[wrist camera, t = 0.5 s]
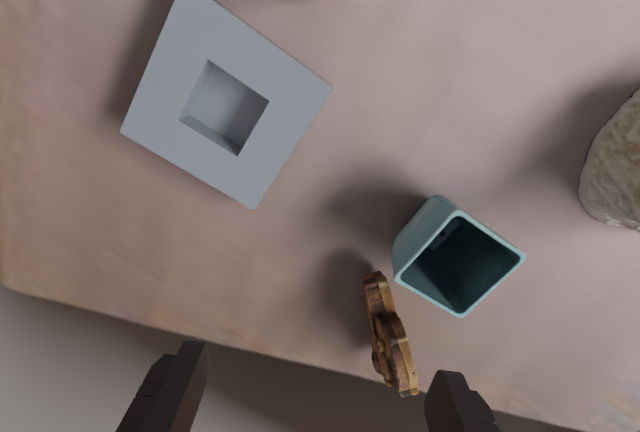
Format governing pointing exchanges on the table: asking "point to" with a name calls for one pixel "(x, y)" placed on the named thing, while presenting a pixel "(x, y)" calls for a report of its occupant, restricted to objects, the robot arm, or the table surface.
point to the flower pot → (451, 257)
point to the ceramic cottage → (615, 169)
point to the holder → (222, 100)
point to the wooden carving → (388, 337)
